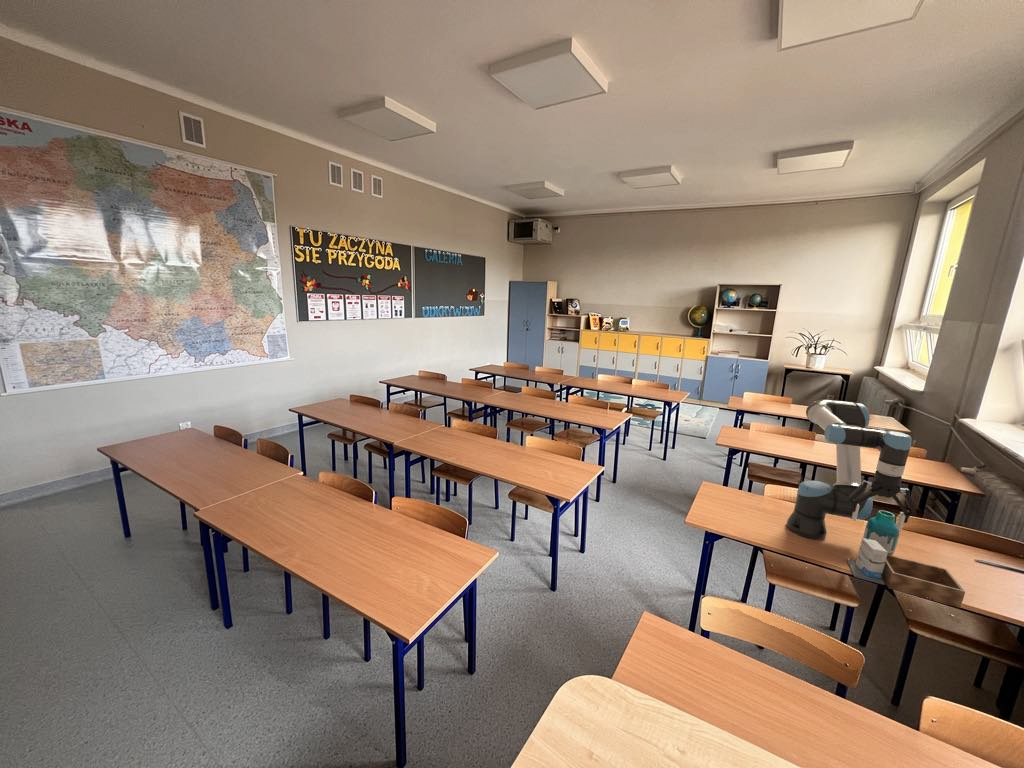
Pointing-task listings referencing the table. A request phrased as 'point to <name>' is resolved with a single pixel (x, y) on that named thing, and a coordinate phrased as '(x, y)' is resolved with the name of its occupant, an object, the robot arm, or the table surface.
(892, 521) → the vase
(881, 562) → the ink box
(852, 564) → the zone pad
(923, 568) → the crate
